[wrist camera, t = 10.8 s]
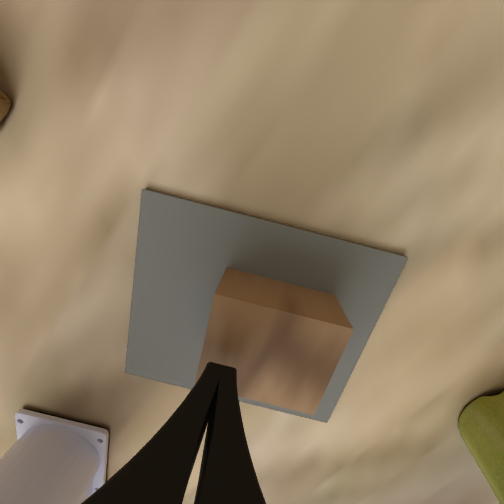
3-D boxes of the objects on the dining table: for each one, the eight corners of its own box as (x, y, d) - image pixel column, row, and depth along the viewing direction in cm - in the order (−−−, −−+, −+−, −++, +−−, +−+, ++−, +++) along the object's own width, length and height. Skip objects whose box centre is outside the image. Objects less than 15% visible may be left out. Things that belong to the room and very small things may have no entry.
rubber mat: (325, 417, 19) (327, 422, 18) (127, 368, 18) (124, 372, 18) (404, 255, 14) (408, 257, 14) (145, 188, 14) (141, 189, 14)
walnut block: (209, 343, 17) (306, 367, 17) (194, 385, 13) (316, 415, 13) (226, 267, 15) (336, 295, 15) (214, 293, 11) (356, 329, 11)
